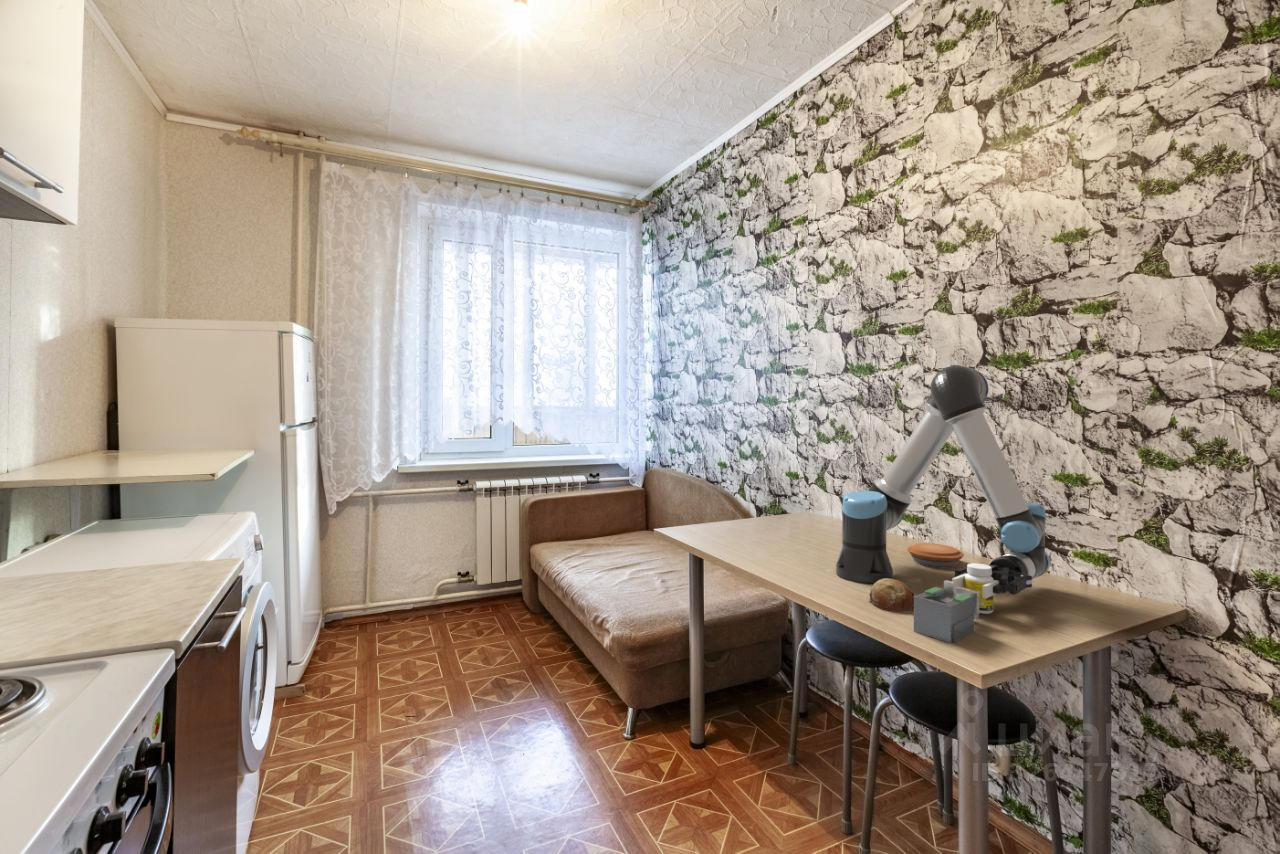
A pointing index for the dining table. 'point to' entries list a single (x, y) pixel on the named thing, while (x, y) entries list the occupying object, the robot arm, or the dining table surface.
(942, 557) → the pie
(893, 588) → the bread roll
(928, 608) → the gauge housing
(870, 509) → the robot arm
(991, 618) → the dining table surface
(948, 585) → the plunger
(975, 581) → the supplement bottle
